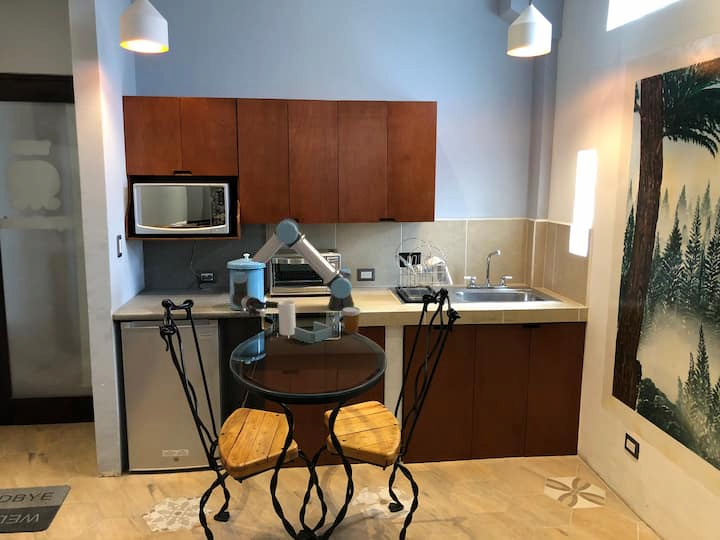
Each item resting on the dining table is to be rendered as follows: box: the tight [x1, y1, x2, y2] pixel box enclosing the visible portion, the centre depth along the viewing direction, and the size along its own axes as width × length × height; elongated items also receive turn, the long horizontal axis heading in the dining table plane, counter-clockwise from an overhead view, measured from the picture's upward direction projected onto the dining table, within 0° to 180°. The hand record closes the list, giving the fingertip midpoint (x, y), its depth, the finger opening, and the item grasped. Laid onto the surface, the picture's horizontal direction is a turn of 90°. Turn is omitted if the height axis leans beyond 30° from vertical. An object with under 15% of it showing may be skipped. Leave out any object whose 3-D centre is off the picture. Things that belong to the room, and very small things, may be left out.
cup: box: [277, 300, 297, 336], centre depth 286 cm, size 8×8×16 cm
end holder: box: [292, 321, 337, 344], centre depth 280 cm, size 16×14×5 cm
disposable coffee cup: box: [341, 306, 361, 335], centre depth 286 cm, size 10×10×12 cm
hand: (275, 311), depth 292 cm, fingers open, 13 cm apart
